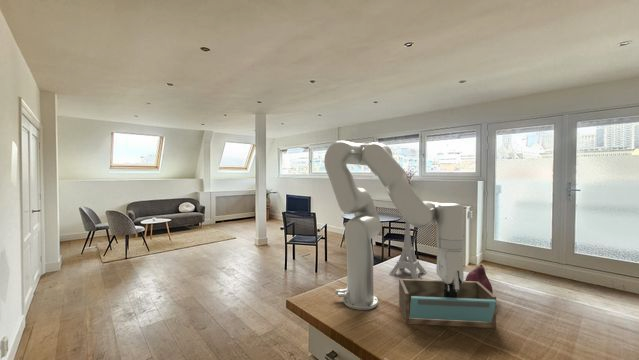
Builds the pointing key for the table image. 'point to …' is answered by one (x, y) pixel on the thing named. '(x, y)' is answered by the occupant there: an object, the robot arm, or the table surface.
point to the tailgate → (452, 308)
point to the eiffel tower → (411, 261)
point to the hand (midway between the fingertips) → (450, 302)
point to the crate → (437, 290)
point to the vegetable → (479, 277)
